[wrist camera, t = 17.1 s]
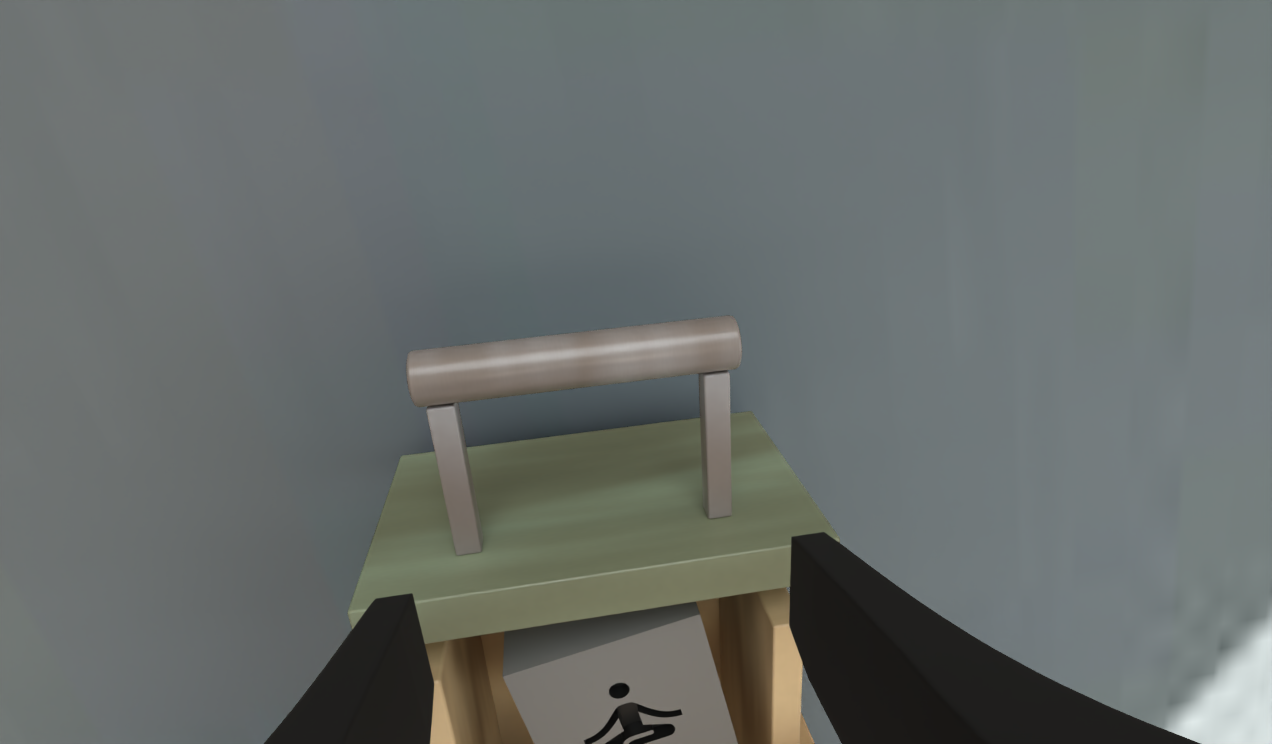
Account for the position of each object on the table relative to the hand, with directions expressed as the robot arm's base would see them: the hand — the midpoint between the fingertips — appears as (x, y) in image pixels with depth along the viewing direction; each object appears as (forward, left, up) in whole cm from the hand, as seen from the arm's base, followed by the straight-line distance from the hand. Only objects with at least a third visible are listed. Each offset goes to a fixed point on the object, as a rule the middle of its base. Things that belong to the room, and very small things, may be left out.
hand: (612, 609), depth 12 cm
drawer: (0, -5, -10) cm, 11 cm away
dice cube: (0, -7, -9) cm, 11 cm away
